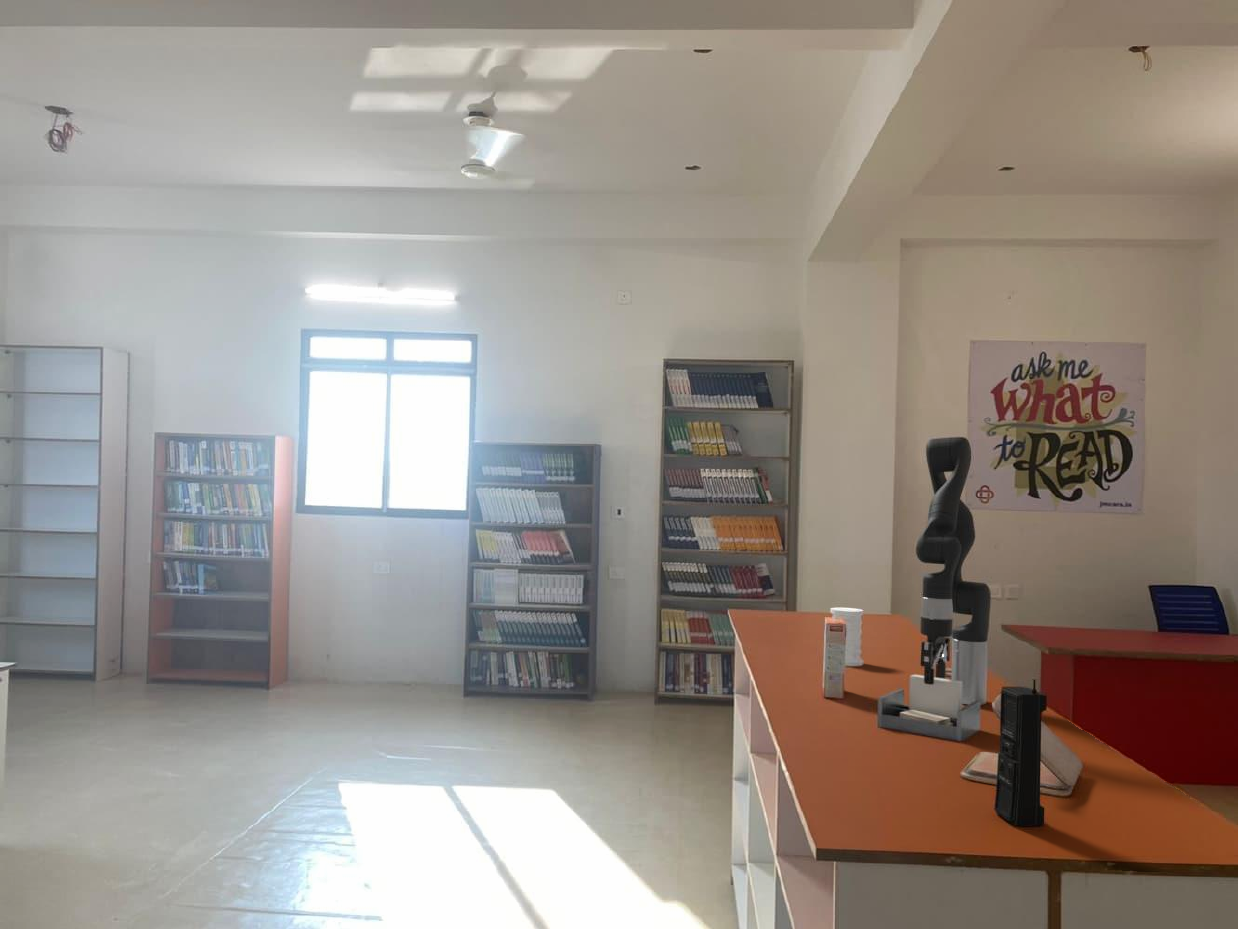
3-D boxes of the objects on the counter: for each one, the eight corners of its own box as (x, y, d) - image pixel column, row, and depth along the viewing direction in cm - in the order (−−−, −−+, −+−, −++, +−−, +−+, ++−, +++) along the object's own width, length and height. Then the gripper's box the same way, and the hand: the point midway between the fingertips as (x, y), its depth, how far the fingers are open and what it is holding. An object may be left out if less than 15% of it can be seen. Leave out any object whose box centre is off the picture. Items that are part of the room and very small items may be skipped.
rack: (899, 716, 241) (900, 688, 241) (980, 730, 229) (980, 701, 229) (877, 726, 229) (878, 697, 229) (960, 741, 217) (961, 711, 217)
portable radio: (989, 811, 169) (992, 671, 170) (1021, 811, 169) (1024, 672, 170) (1011, 826, 161) (1014, 680, 162) (1045, 827, 162) (1048, 680, 162)
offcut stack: (911, 725, 233) (911, 709, 233) (953, 734, 225) (954, 718, 225) (897, 729, 229) (898, 712, 229) (940, 738, 221) (941, 722, 221)
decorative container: (867, 666, 311) (868, 612, 311) (831, 665, 311) (833, 611, 312) (858, 660, 322) (859, 608, 323) (824, 659, 323) (826, 606, 323)
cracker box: (845, 700, 259) (847, 623, 259) (822, 698, 260) (824, 622, 260) (843, 689, 272) (845, 617, 273) (822, 688, 274) (824, 616, 274)
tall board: (913, 720, 238) (914, 674, 238) (961, 728, 230) (962, 681, 231) (908, 722, 235) (909, 676, 236) (957, 730, 228) (958, 683, 228)
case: (1072, 801, 177) (1074, 715, 177) (956, 780, 188) (959, 699, 189) (1084, 776, 194) (1086, 698, 195) (977, 758, 205) (979, 684, 206)
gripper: (931, 612, 242) (929, 676, 241) (911, 616, 230) (909, 683, 230) (961, 615, 237) (959, 680, 236) (942, 619, 226) (940, 688, 225)
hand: (934, 681), depth 233 cm, fingers open, 8 cm apart
